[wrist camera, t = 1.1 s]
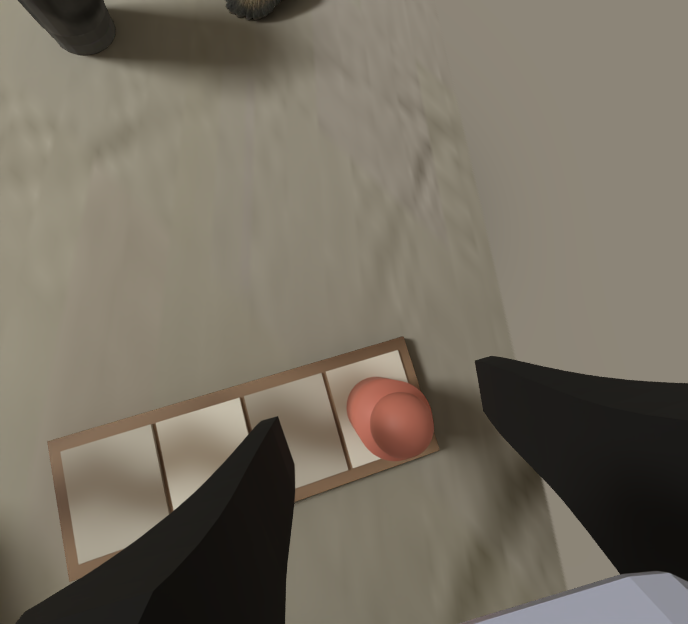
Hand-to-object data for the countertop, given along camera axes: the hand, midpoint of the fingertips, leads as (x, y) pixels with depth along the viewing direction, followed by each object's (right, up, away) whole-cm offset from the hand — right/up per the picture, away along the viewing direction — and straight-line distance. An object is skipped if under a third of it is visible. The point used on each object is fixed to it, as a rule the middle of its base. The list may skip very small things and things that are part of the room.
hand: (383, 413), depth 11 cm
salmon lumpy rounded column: (+1, -3, +10) cm, 11 cm away
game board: (-7, -5, +10) cm, 14 cm away
